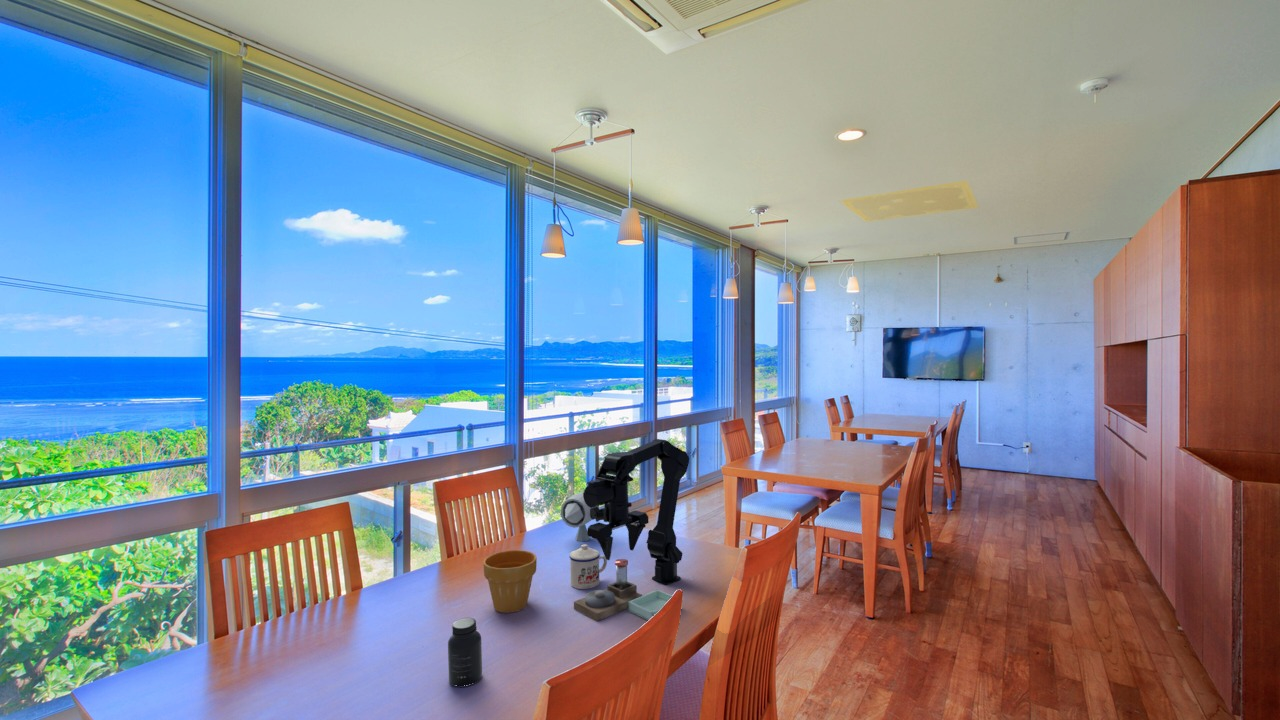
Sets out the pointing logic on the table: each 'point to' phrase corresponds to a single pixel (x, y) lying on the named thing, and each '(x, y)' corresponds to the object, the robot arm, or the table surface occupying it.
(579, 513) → the jet engine
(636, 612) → the tray
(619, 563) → the pin
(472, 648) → the supplement bottle
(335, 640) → the table surface
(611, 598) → the block
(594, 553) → the teacup with lid
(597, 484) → the robot arm
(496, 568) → the flower pot
